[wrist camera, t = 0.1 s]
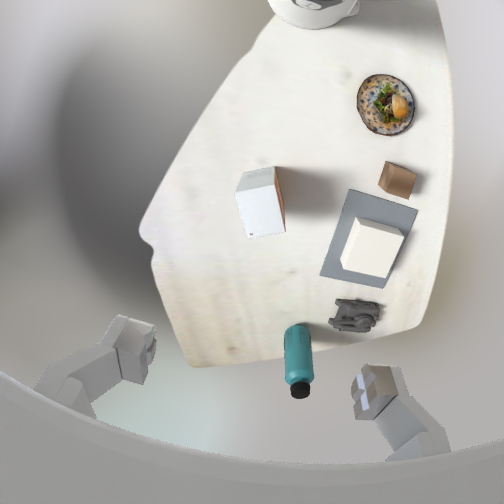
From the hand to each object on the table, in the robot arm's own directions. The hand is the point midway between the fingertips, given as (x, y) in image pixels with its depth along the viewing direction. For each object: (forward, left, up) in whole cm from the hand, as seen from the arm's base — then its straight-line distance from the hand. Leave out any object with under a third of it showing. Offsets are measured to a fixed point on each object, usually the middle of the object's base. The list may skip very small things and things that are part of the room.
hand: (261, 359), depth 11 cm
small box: (+8, 0, -48) cm, 49 cm away
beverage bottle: (+41, +16, -48) cm, 65 cm away
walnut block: (-1, +24, -48) cm, 54 cm away
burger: (-14, +18, -48) cm, 53 cm away
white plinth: (+14, +24, -48) cm, 55 cm away
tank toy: (+33, +28, -49) cm, 65 cm away
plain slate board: (+14, +24, -48) cm, 55 cm away
